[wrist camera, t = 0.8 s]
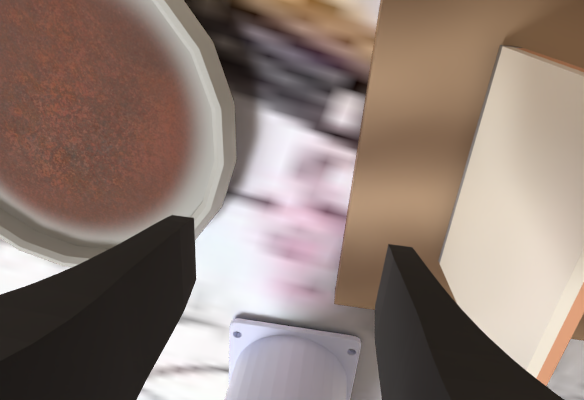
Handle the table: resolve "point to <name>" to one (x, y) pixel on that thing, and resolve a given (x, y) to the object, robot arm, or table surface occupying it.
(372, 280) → the board
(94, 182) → the frying pan
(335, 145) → the table surface
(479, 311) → the tile
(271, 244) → the table surface
